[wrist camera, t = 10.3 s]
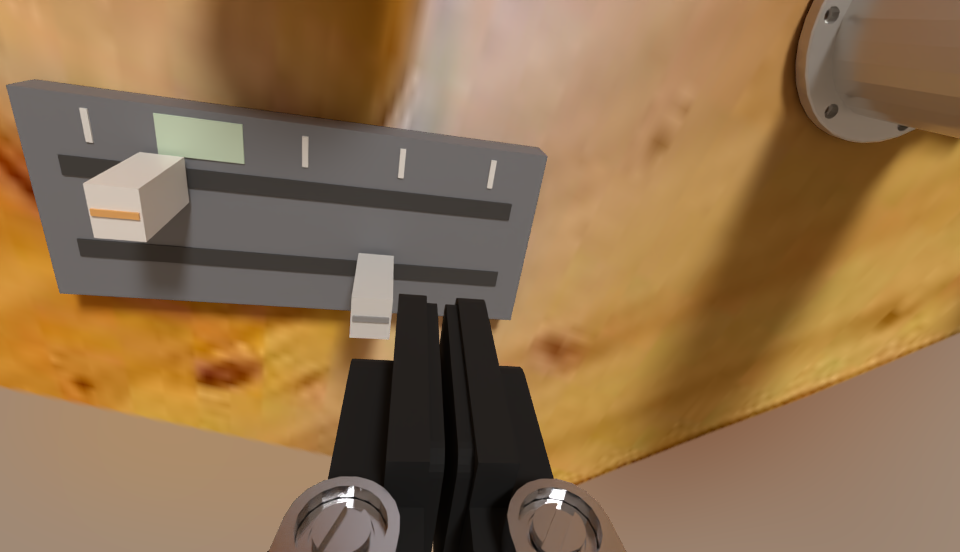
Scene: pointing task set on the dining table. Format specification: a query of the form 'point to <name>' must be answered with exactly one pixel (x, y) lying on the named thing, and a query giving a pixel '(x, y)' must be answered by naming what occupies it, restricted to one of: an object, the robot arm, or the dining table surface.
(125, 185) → the fader
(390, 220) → the console
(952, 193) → the dining table surface
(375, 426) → the robot arm
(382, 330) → the fader
